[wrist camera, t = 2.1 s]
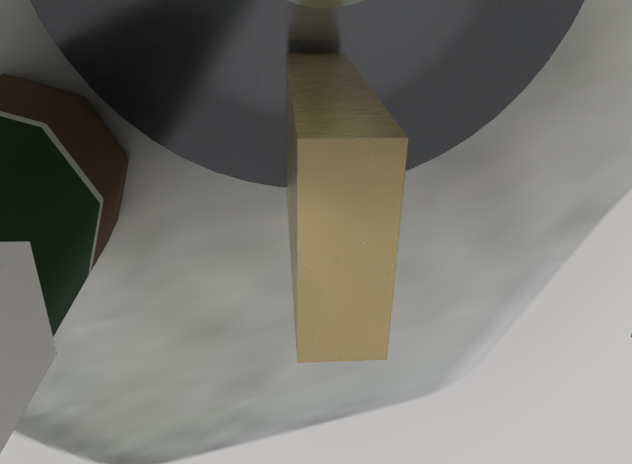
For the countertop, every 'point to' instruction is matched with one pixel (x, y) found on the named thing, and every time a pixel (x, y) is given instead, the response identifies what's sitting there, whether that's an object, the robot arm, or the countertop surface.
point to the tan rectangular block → (341, 208)
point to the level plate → (301, 37)
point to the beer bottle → (57, 185)
